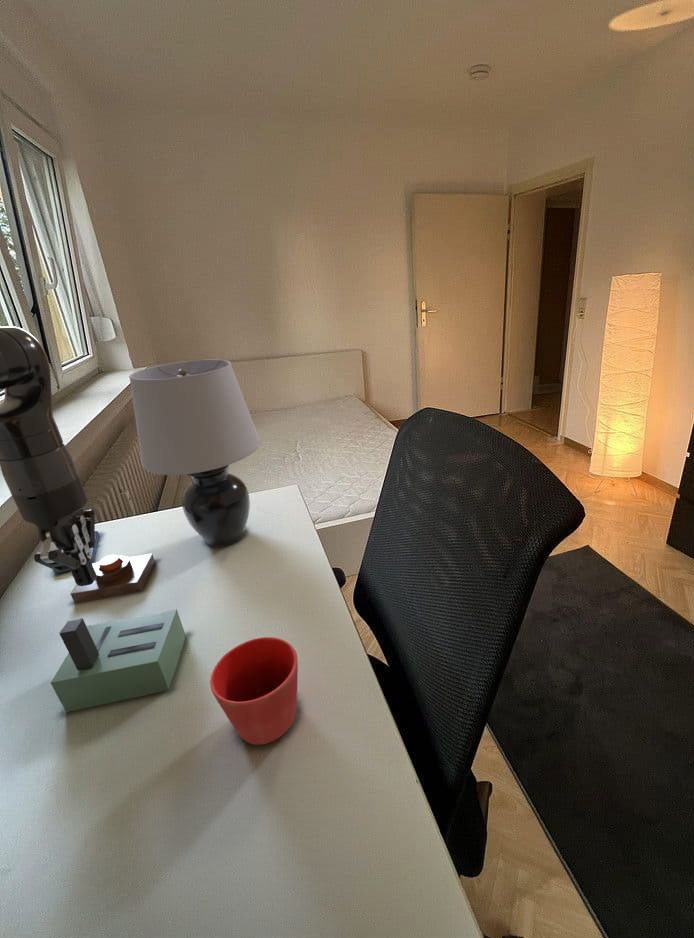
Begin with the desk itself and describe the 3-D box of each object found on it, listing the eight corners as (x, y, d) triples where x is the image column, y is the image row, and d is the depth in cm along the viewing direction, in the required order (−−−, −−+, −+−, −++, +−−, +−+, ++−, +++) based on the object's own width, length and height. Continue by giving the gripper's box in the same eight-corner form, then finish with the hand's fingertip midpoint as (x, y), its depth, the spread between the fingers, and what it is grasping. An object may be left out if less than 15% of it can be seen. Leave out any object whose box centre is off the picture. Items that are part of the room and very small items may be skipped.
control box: (74, 602, 86) (66, 586, 84) (95, 571, 95) (89, 556, 93) (140, 591, 88) (134, 574, 86) (155, 561, 97) (150, 546, 95)
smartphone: (100, 533, 110) (98, 529, 109) (94, 564, 97) (92, 559, 97) (64, 543, 107) (62, 539, 106) (53, 575, 94) (51, 571, 94)
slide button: (77, 670, 63) (59, 633, 60) (84, 657, 65) (67, 621, 62) (92, 667, 63) (75, 630, 61) (99, 654, 66) (82, 618, 63)
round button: (98, 573, 88) (95, 566, 87) (105, 563, 91) (102, 556, 91) (117, 570, 89) (115, 563, 88) (124, 560, 92) (121, 553, 91)
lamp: (178, 522, 112) (129, 365, 96) (274, 503, 119) (244, 352, 103) (162, 578, 91) (96, 390, 75) (280, 552, 98) (243, 372, 82)
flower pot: (261, 675, 68) (248, 627, 64) (322, 697, 64) (312, 647, 60) (209, 739, 59) (190, 688, 55) (276, 769, 55) (261, 716, 51)
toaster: (66, 712, 64) (49, 682, 61) (97, 653, 74) (84, 625, 71) (169, 690, 66) (157, 660, 64) (186, 636, 76) (176, 608, 74)
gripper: (39, 465, 66) (80, 561, 72) (-19, 508, 54) (36, 617, 61) (95, 458, 67) (129, 553, 74) (50, 499, 55) (96, 607, 62)
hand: (87, 582), depth 67 cm, fingers closed
